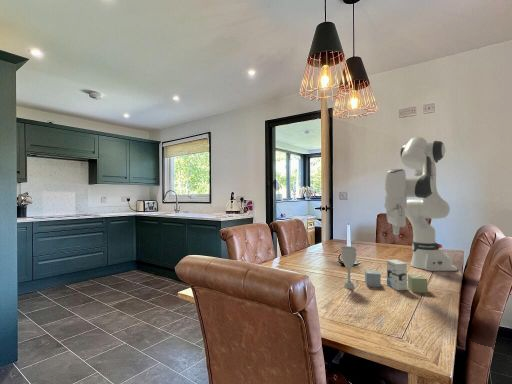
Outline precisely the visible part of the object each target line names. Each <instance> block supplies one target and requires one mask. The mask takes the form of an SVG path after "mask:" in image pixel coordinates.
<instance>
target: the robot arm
mask: <svg viewBox="0 0 512 384" xmlns="http://www.w3.org/2000/svg"><path fill="white" fill-rule="evenodd" d="M444 144H445V143H443V141H440V140H434V141H431V140H430V141H429V140H428V141H427V140H426V139H425V138H423V137H421V136H415V137H412V138H410V139H409V141H408V142H407V143H406V144H404V145H402V146H401V148H400V151H399V152H400V153H399V155H400V159H401V162H402V164H403V165H404V166H405V167H406V168H408V169H410V170H414V171H413V172H414V175H413V176H406V170H405V169H402V168H396V169H394V168H393V169H389V170H388V171H386V175H385V179H384V180H385V182H384V184H385V185H384V187H385V188H384V190H385V196H384V199H385V202H384V208H385V211H386V213H385V214H386V220H387V223H388V224H390V225H391V227H392V234H393V235H394V236H400V235H399V234H400V228H405V227H406V225H407V219H408V221H409V222H410V224H411V228H412V236H413V237H412V239H413V240H412V244H411V247H412V258H411V262H410V266H411V267H413V268H416V269H421V270H425V271H435V272H436V271H437V272H438V271H440V272H441V271H442V272H444V271H445V272H448V271H450V272H454V271H457V270H458V269H457V266H456V265H453V263H452V259H451V257H450V256H448V254H446V253H445V252H443V251H442V250H441V249H442V248H443V245H442V244H441V243H437V242H436V230H435V227H434V226H433V225H431V224H429V223H428V222H427V219H434V220H435V219H444V218H446V217H448V215H449V214H450V211H451V210H450V205H449V203H448V202H447V201H446V200H444V199H443V198H442V197H441V196H440V194H439V192H438V189H437V166H436V164H437V163H438V162H439V161H441V160H442V159H443V158H444V156H445V153H446V147H445V145H444ZM407 198H410V199H407Z"/></svg>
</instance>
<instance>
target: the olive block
mask: <svg viewBox="0 0 512 384" xmlns="http://www.w3.org/2000/svg"><path fill="white" fill-rule="evenodd" d="M407 289H409V290H410V291H411V292H412V293H424V294H427V293H428V278H427V277H426V276H424V275H423V274H407Z"/></svg>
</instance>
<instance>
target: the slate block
mask: <svg viewBox="0 0 512 384" xmlns="http://www.w3.org/2000/svg"><path fill="white" fill-rule="evenodd" d="M381 277H382V275H381V272H380V270H375V269H374V270H371V269H365V270H364V283H365V285H366V287H375V288H382V287H381V285H382V284H381V283H382V282H381V281H382V280H381V279H382V278H381Z"/></svg>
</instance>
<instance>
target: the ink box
mask: <svg viewBox="0 0 512 384" xmlns="http://www.w3.org/2000/svg"><path fill="white" fill-rule="evenodd" d="M407 265H408V264H407V263H406V262H403V261H401V260H399V259H387V260H386V285H387V286H389V287H390V288H392V289H394V290H395V291H407V290H408V274H407V273H408V272H407V269H408V268H407Z"/></svg>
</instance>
